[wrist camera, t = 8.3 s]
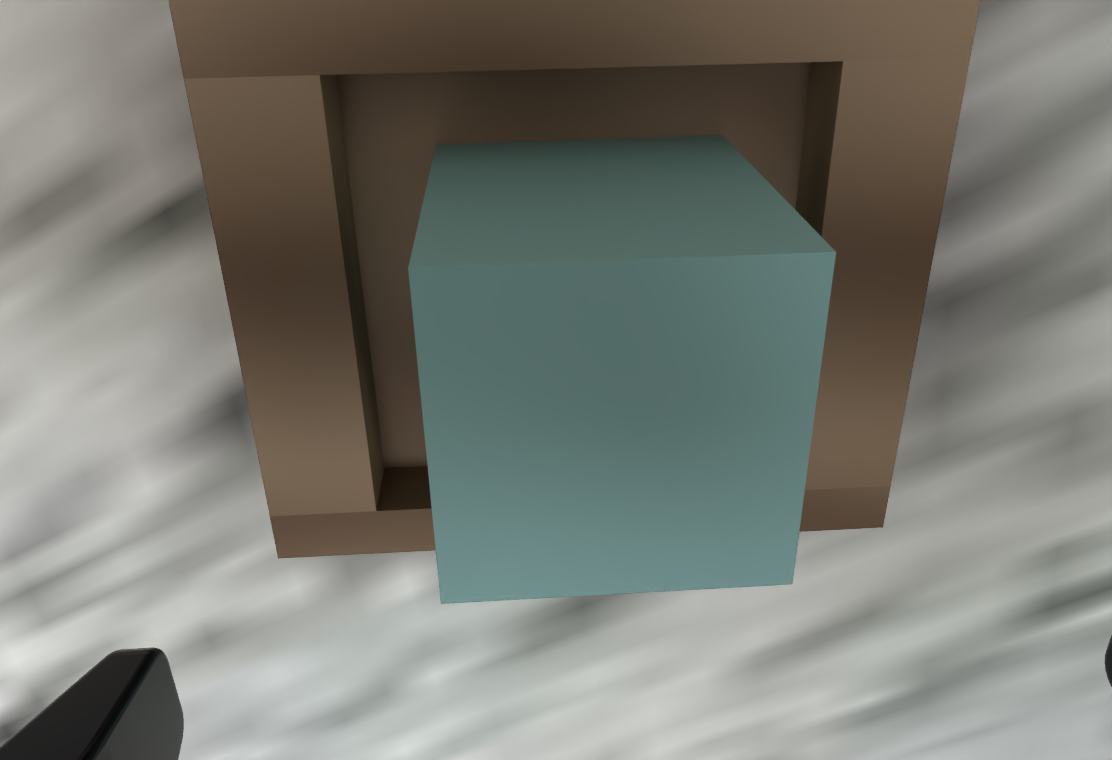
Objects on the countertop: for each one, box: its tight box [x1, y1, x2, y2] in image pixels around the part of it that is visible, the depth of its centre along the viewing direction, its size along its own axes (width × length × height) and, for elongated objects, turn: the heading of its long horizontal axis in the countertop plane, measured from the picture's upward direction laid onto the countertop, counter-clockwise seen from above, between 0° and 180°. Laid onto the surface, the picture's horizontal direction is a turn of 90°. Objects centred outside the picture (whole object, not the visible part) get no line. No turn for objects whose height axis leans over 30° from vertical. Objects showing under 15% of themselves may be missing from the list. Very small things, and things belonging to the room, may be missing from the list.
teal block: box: [408, 135, 836, 604], centre depth 14 cm, size 5×5×6 cm
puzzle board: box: [169, 0, 981, 558], centre depth 14 cm, size 18×12×5 cm, turn 1°
